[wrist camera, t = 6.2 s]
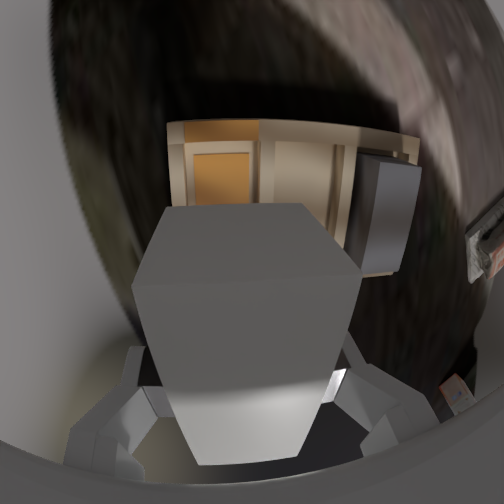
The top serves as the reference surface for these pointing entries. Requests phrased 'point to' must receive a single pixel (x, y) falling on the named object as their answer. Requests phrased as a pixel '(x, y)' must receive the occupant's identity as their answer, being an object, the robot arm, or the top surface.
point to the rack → (305, 177)
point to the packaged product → (486, 244)
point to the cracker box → (457, 394)
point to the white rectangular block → (244, 323)
